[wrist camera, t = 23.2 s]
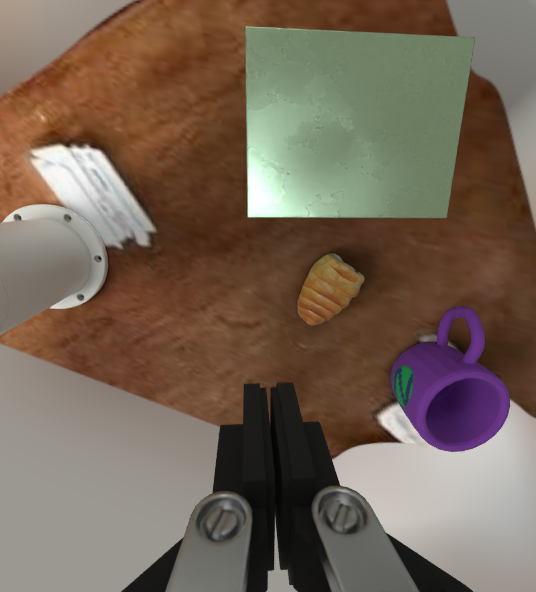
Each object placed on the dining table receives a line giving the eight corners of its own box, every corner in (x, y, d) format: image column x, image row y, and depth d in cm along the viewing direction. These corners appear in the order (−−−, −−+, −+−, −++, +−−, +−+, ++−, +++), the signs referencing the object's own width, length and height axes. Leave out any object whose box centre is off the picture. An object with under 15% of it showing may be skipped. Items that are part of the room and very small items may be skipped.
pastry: (323, 329, 45) (329, 341, 42) (282, 305, 44) (285, 314, 40) (364, 273, 43) (375, 280, 40) (323, 245, 42) (330, 250, 38)
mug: (447, 407, 50) (494, 456, 41) (376, 402, 49) (407, 451, 40) (482, 299, 46) (545, 326, 36) (403, 290, 44) (447, 316, 35)
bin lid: (247, 217, 27) (247, 217, 26) (244, 31, 23) (245, 25, 22) (441, 217, 28) (447, 218, 27) (468, 41, 24) (475, 36, 24)
